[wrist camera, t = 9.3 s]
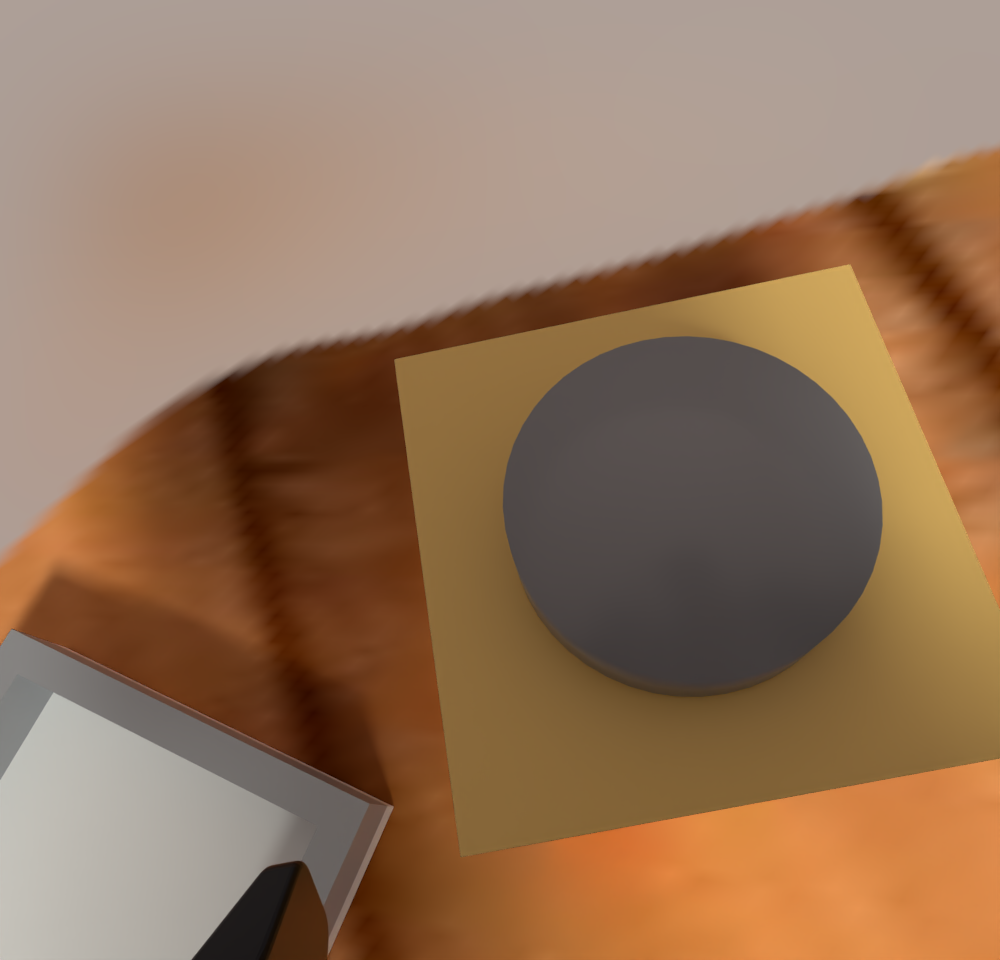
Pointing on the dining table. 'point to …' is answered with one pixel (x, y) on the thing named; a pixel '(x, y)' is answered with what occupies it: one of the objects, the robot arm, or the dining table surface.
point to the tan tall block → (689, 565)
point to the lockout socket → (149, 815)
